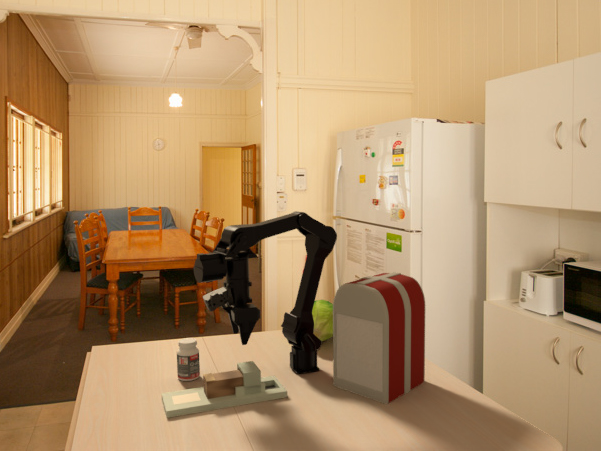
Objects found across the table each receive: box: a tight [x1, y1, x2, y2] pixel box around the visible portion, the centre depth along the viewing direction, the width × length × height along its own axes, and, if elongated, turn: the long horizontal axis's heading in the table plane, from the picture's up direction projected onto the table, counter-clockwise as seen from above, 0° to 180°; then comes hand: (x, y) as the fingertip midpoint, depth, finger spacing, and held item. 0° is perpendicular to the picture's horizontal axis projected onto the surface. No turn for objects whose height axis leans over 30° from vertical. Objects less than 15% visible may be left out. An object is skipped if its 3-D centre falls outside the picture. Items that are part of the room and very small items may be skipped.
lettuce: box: [312, 299, 333, 342], centre depth 166 cm, size 13×23×12 cm, turn 170°
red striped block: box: [332, 271, 426, 405], centre depth 132 cm, size 17×18×27 cm
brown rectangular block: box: [202, 369, 244, 399], centre depth 126 cm, size 12×4×4 cm, turn 110°
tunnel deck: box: [161, 360, 288, 419], centre depth 126 cm, size 28×10×7 cm, turn 110°
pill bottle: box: [176, 337, 201, 382], centre depth 139 cm, size 6×6×10 cm
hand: (239, 338), depth 132 cm, fingers open, 9 cm apart
